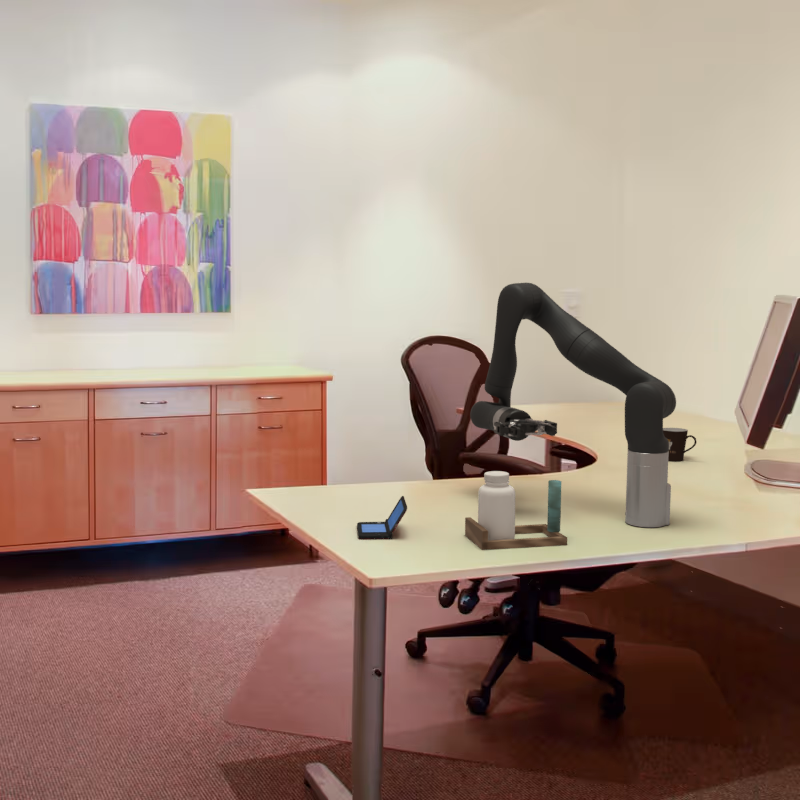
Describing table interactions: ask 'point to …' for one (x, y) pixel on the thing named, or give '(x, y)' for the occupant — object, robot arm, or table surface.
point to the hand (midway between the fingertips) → (536, 432)
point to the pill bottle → (497, 506)
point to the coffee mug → (677, 443)
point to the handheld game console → (382, 524)
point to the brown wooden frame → (525, 527)
